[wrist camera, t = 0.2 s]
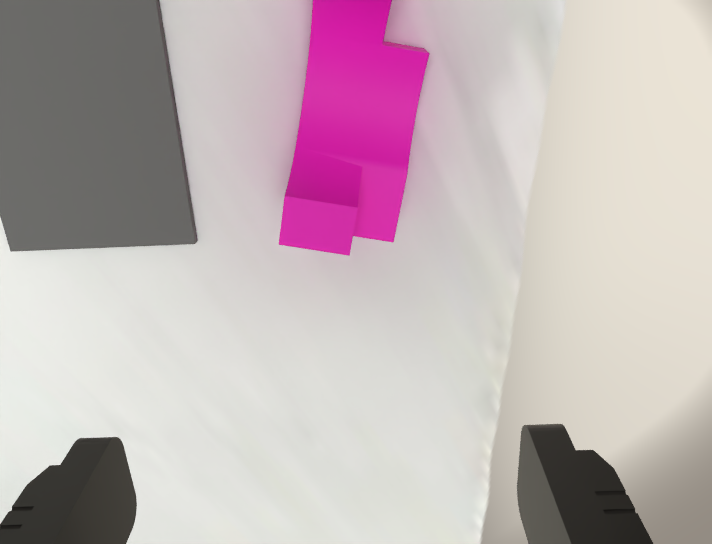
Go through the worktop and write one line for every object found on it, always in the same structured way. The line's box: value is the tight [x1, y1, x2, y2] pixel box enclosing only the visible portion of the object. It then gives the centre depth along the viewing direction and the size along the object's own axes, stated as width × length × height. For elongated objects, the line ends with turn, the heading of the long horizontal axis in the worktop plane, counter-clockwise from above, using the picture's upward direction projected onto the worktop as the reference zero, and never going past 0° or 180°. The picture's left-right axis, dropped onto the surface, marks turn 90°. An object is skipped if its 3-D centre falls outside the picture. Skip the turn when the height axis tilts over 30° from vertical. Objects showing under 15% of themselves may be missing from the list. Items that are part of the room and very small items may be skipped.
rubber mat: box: [0, 0, 197, 251], centre depth 37 cm, size 16×12×1 cm
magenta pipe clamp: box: [279, 0, 429, 255], centre depth 33 cm, size 15×6×8 cm, turn 171°
